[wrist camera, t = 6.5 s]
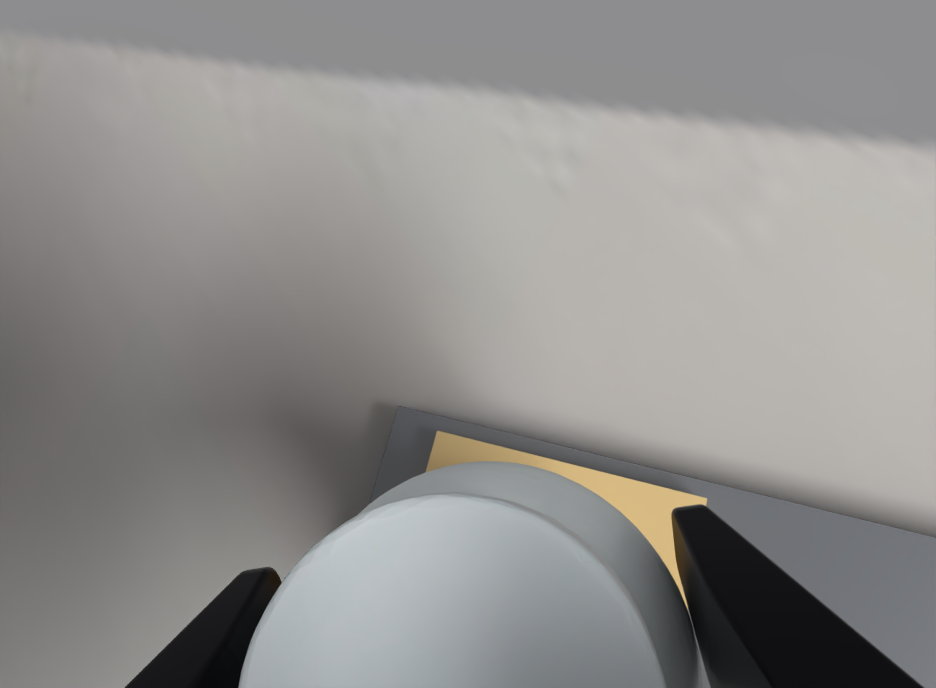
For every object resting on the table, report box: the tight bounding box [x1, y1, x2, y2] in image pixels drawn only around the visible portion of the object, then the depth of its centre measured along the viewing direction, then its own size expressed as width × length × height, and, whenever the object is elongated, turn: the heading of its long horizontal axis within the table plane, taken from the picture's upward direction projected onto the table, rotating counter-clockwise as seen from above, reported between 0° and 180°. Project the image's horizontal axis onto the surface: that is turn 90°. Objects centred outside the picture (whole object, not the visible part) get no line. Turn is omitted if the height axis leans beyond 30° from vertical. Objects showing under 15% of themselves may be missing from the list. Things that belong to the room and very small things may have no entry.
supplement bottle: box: [238, 461, 703, 688], centre depth 10 cm, size 5×5×10 cm
